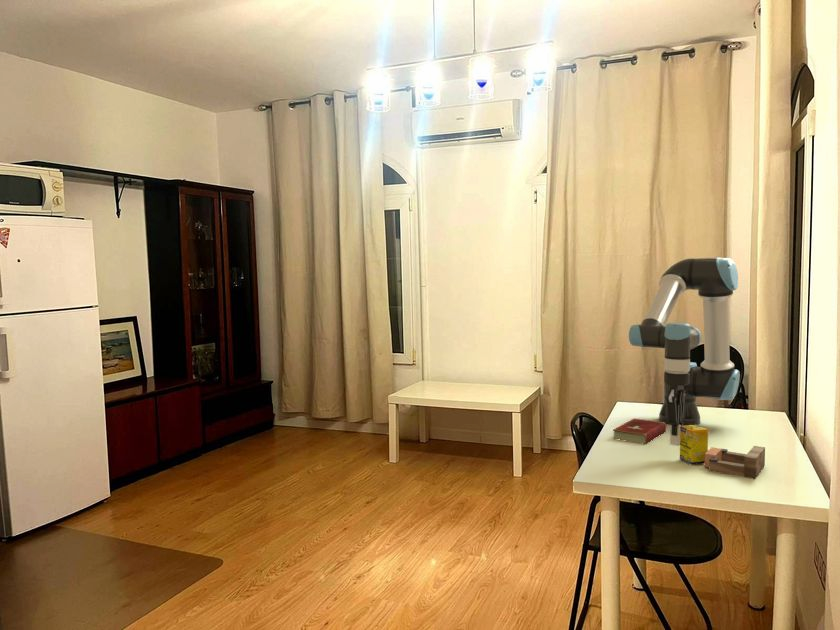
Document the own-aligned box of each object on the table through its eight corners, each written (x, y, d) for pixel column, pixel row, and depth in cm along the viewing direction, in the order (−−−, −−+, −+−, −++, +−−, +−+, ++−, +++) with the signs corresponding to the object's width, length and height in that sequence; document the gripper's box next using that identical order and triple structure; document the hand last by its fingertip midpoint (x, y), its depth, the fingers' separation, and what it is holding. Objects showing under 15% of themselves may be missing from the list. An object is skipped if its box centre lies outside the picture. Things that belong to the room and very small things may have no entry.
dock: (720, 459, 202) (720, 440, 202) (764, 466, 195) (765, 447, 194) (709, 470, 191) (709, 451, 191) (755, 479, 184) (755, 458, 183)
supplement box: (679, 459, 203) (679, 425, 202) (695, 457, 204) (695, 424, 203) (691, 465, 197) (691, 430, 196) (707, 463, 199) (708, 428, 198)
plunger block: (711, 459, 201) (711, 447, 201) (721, 461, 199) (722, 448, 199) (704, 466, 195) (704, 453, 194) (715, 468, 193) (715, 455, 193)
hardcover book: (666, 433, 236) (666, 422, 236) (646, 446, 220) (646, 434, 220) (634, 428, 244) (634, 417, 244) (612, 440, 228) (612, 428, 227)
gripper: (671, 367, 209) (669, 438, 211) (658, 373, 199) (656, 447, 201) (695, 370, 205) (693, 442, 206) (683, 375, 194) (681, 451, 196)
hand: (675, 444), depth 204 cm, fingers closed
